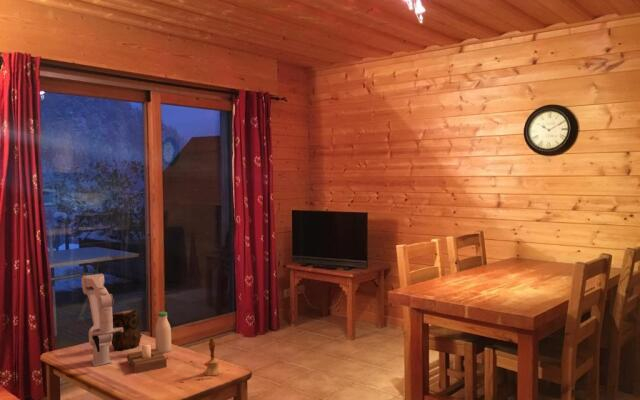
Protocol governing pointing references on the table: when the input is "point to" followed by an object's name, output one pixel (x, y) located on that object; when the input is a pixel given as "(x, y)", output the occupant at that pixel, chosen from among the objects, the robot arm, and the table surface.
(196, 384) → the table surface
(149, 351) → the cream peg
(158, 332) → the milk bottle
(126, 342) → the owl
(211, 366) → the hand bell
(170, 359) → the table surface
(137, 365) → the walnut holder
